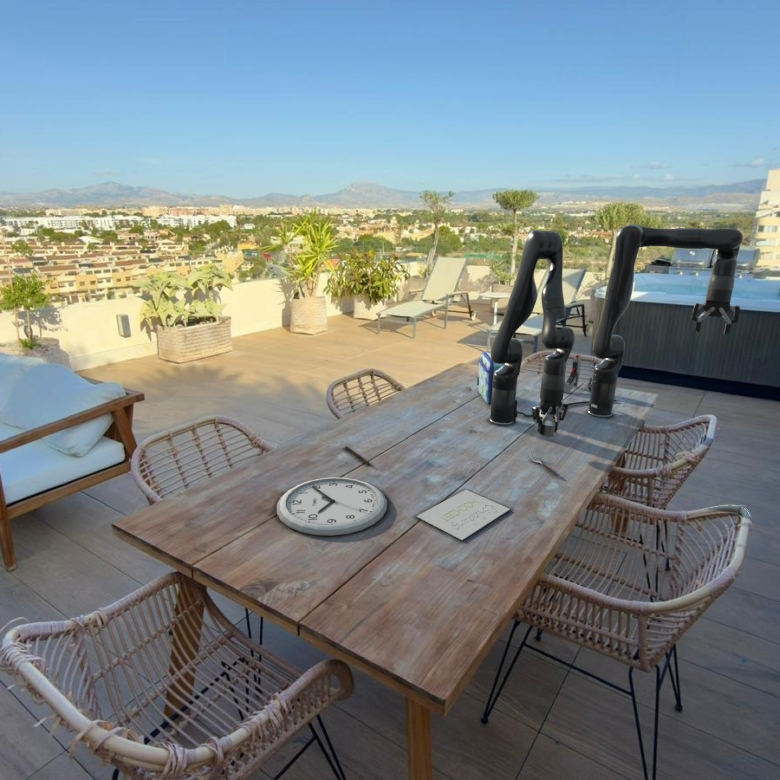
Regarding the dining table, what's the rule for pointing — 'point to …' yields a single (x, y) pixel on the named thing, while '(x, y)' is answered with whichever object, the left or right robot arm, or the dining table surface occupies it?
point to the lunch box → (486, 376)
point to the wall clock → (331, 506)
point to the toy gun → (573, 374)
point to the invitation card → (463, 514)
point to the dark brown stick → (357, 455)
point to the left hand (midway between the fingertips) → (547, 432)
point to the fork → (541, 463)
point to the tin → (549, 429)
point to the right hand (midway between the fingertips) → (711, 333)
